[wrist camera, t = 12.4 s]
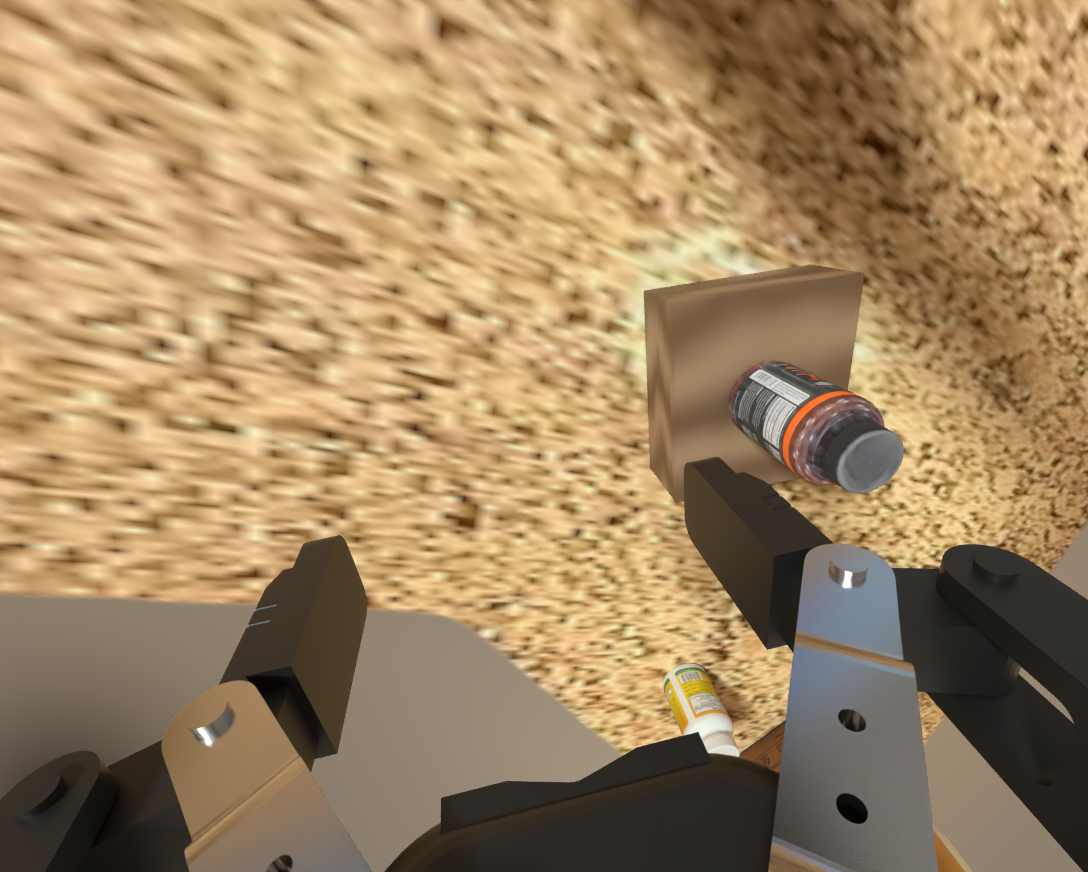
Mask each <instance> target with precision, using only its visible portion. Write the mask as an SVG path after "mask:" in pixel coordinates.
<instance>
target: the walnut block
mask: <svg viewBox="0 0 1088 872" xmlns="http://www.w3.org/2000/svg"><path fill="white" fill-rule="evenodd" d="M863 280H864V273H858V272H852V271H846V270H840V269H834V268H828V267H822V266H816V265H805V266H798V267H792V268H786V269H779V270H773V271H767V272H760V273H754V274H748V275H741V276H735V277H729V278H722V279H716V280H709V281H703V282H697V283H690V284H684V285H678V286H671V287H665V288H659V289H652V290H646V291H644V307H645V334H646V361H647V389H648V416H649V443H650V468H651V470H652V471H653V472H654V474H655V475H656V476H657V478H658V479H659V480H660V482H661V483H662V484H663V486H664V487H665V488H666V490H667V491H668V492H669V494H670V495H671V496H672V498H673V499H674V500H675V502H681V501H684V466H685V464H686V463H688V462H693V461H698V460H702V459H707V458H712V457H719V458H721V459H722V460H723V461H724V462H725V463H726V464H727V465H728V466H729V467H730V468H731V469H732V470H733V471H734V472H735V473H736V474H738V473H742V472H745V473H748V474H750V475H752V476H754V477H757V478H759V479H761V480H763V481H765V482H766V483H767V484H772V483H777V482H782V481H787V480H792V479H797V478H801V477H800V476H798V475H797V474H796V473H794V472H793V471H792V470H790V469H789V468H788V467H786V466H785V465H784V464H783V463H781V462H780V461H779V460H777V459H776V458H775V457H774V456H772V455H771V454H770V453H769V452H767V451H766V450H765V449H763V448H762V447H761V446H760V445H758V444H757V443H756V442H755V441H753V440H752V439H751V438H749V437H748V436H747V435H746V434H744V433H743V432H742V431H741V430H740V429H739V428H738V427H737V426H736V425H735V424H734V422H733V421H732V419H731V416H730V412H729V397H730V394H731V391H732V389H733V387H734V385H735V383H736V382H737V380H738V379H739V378H740V376H741V375H743V374H744V372H746V371H747V370H749V369H750V368H752V367H753V366H755V365H757V364H759V363H761V362H767V361H782V362H785V363H788V364H792V365H794V366H796V367H799V368H801V369H802V370H805V371H807V372H809V373H811V374H813V375H815V376H818V377H820V378H822V379H824V380H826V381H828V382H830V383H832V384H835V385H837V386H839V387H841V388H844V389H846V390H848V384H849V377H850V370H851V363H852V356H853V349H854V342H855V335H856V328H857V321H858V314H859V308H860V301H861V294H862V287H863Z"/></svg>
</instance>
